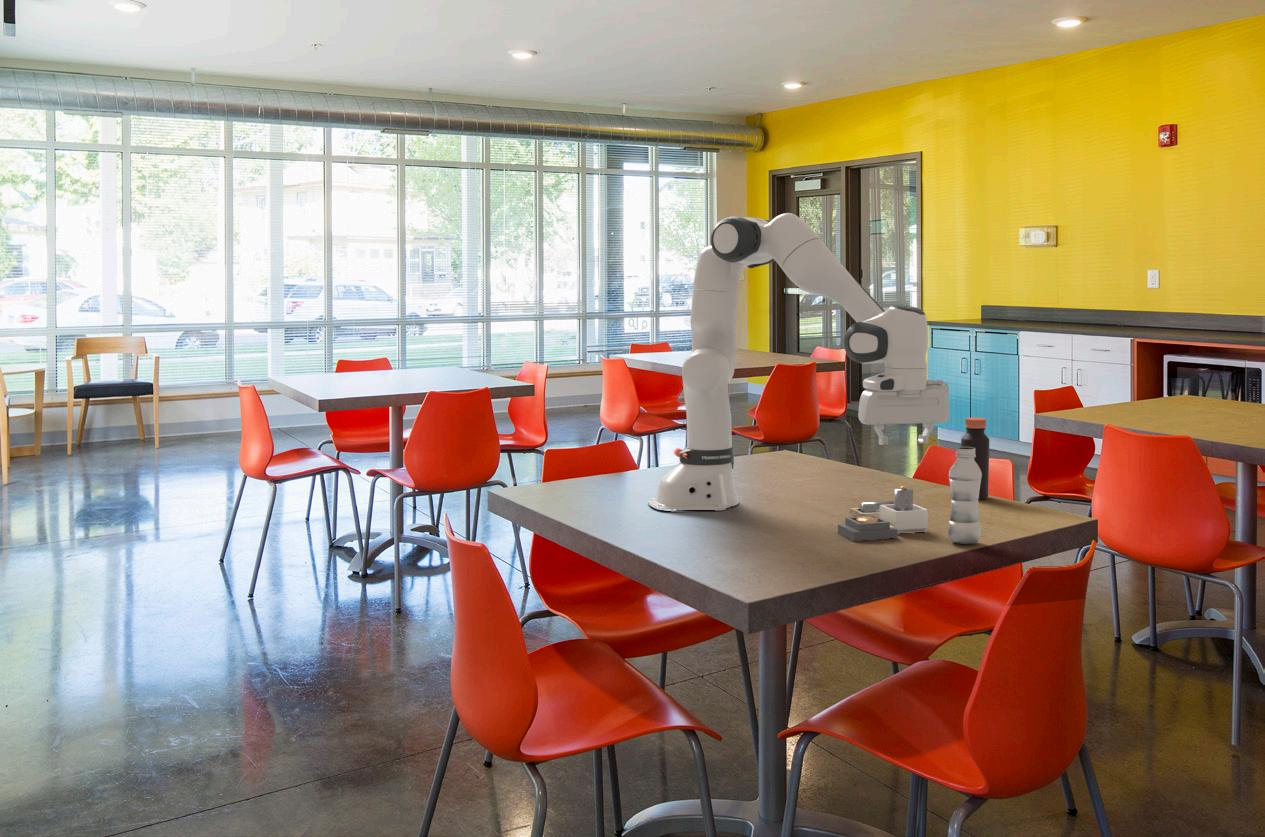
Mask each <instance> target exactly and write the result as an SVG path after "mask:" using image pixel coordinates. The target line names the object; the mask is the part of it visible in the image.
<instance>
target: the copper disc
mask: <svg viewBox="0 0 1265 837" xmlns="http://www.w3.org/2000/svg"><path fill="white" fill-rule="evenodd" d="M856 521H857V522H859V523H874V522H878V518H875V517H858V518H857V519H856Z"/></svg>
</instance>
